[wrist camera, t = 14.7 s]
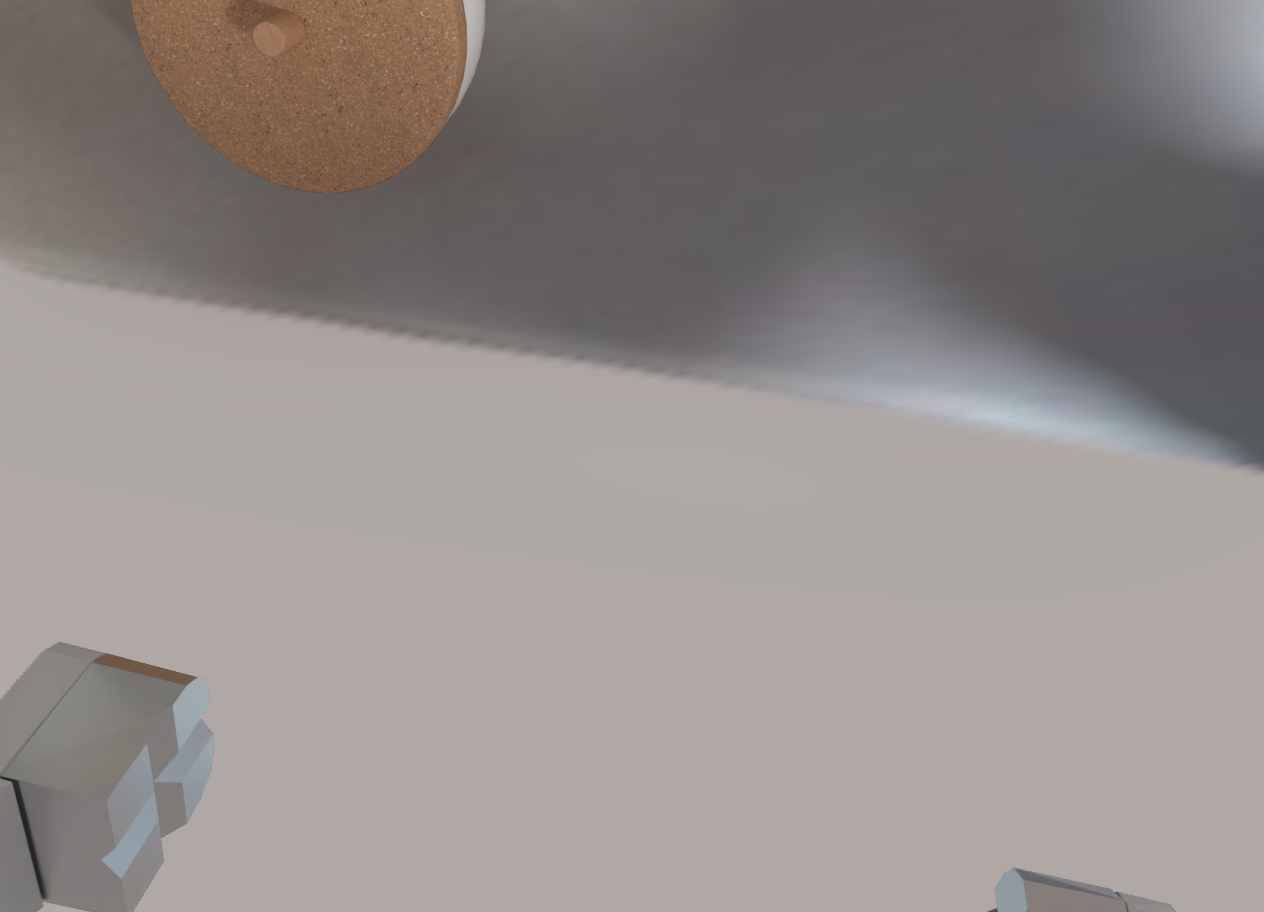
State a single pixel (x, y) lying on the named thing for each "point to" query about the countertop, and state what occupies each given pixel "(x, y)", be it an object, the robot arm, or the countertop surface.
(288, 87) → the lidded jar
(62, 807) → the robot arm
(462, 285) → the countertop surface
